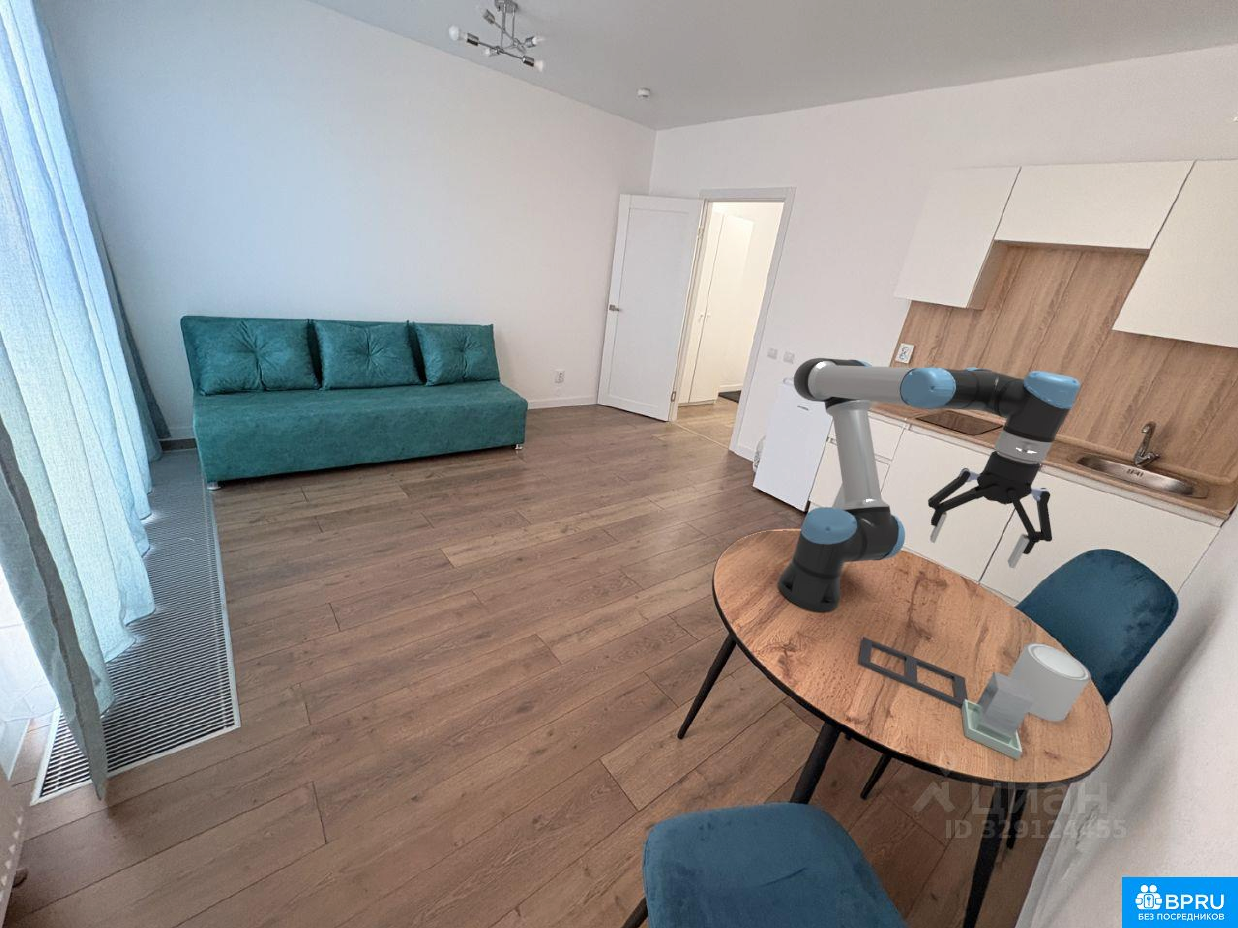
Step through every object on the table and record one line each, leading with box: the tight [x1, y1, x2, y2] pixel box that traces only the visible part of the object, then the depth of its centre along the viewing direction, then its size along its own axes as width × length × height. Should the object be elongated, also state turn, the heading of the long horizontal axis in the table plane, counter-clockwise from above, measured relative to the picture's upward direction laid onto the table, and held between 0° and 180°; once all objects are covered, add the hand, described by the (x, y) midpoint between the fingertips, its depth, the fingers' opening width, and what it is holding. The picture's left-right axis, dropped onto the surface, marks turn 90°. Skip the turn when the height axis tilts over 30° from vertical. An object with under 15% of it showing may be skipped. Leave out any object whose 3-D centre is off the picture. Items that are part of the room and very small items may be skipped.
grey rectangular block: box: [972, 670, 1033, 744], centre depth 87 cm, size 5×5×11 cm
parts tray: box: [960, 699, 1023, 761], centre depth 88 cm, size 8×8×2 cm
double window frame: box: [858, 636, 969, 709], centre depth 101 cm, size 20×9×1 cm, turn 59°
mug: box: [1007, 641, 1092, 723], centre depth 97 cm, size 14×10×11 cm
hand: (970, 552), depth 96 cm, fingers open, 13 cm apart
